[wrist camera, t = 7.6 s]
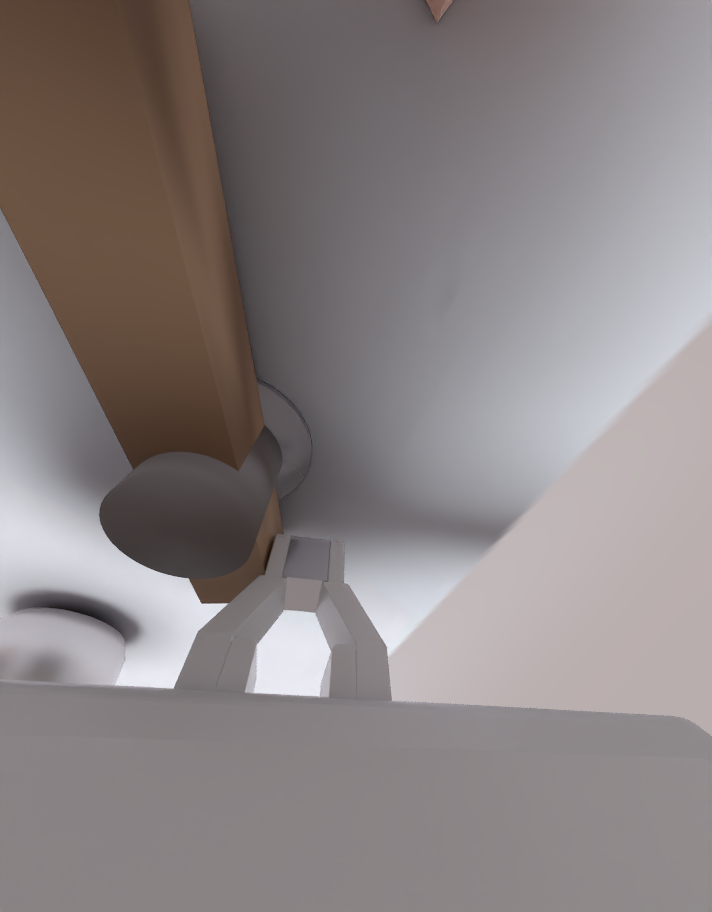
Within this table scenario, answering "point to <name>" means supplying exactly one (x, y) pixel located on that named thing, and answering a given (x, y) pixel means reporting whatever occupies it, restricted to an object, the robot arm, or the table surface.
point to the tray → (438, 7)
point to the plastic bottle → (59, 647)
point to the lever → (142, 274)
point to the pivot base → (286, 437)
